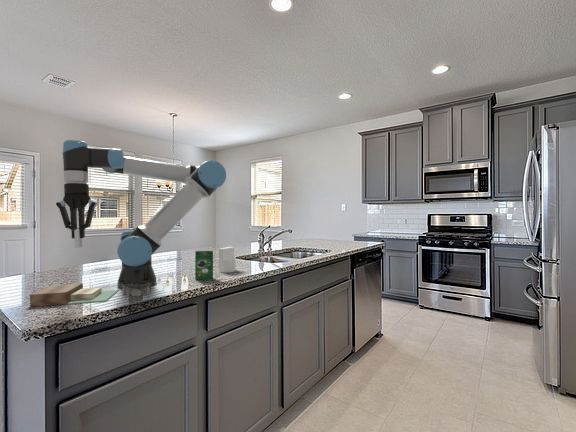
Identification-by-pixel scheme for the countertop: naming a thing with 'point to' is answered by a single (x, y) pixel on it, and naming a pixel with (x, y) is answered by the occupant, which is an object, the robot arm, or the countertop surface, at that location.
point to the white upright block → (226, 260)
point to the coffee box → (203, 265)
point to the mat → (97, 297)
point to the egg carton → (136, 289)
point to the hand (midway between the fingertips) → (78, 247)
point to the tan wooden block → (54, 294)
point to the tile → (86, 293)
